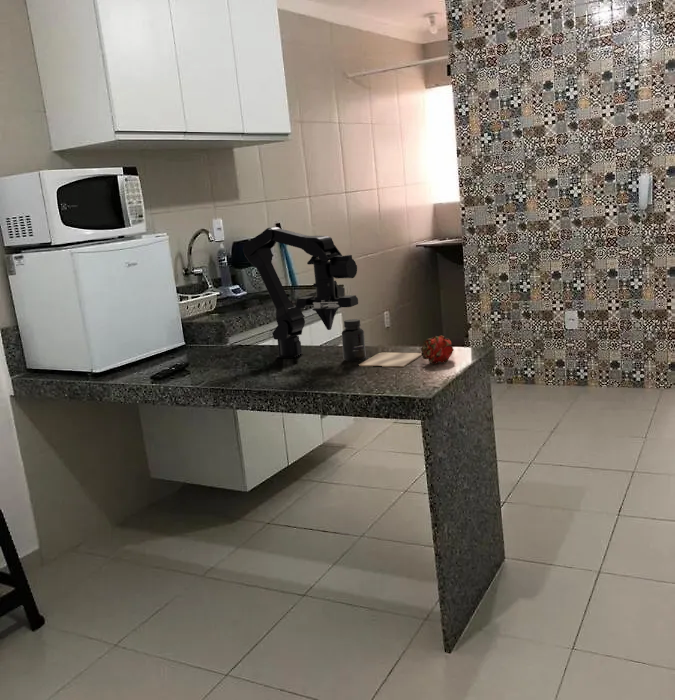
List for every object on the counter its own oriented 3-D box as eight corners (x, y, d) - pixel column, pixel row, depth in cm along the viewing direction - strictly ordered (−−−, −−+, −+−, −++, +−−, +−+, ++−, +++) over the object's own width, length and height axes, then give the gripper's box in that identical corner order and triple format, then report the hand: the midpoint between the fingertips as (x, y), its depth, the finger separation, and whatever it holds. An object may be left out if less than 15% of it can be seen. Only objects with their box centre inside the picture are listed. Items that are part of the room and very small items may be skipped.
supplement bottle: (360, 362, 221) (357, 322, 219) (339, 361, 224) (336, 322, 222) (369, 356, 227) (366, 318, 225) (349, 356, 230) (346, 318, 228)
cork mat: (358, 366, 216) (358, 364, 216) (380, 353, 230) (380, 352, 230) (403, 367, 210) (403, 365, 210) (423, 354, 224) (423, 353, 224)
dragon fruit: (423, 373, 208) (446, 369, 217) (445, 357, 203) (467, 353, 212) (409, 347, 211) (432, 344, 220) (430, 330, 206) (453, 328, 215)
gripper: (363, 274, 227) (368, 324, 230) (310, 276, 235) (315, 324, 239) (347, 279, 217) (352, 331, 220) (292, 281, 226) (297, 331, 229)
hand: (329, 329), depth 227 cm, fingers closed
